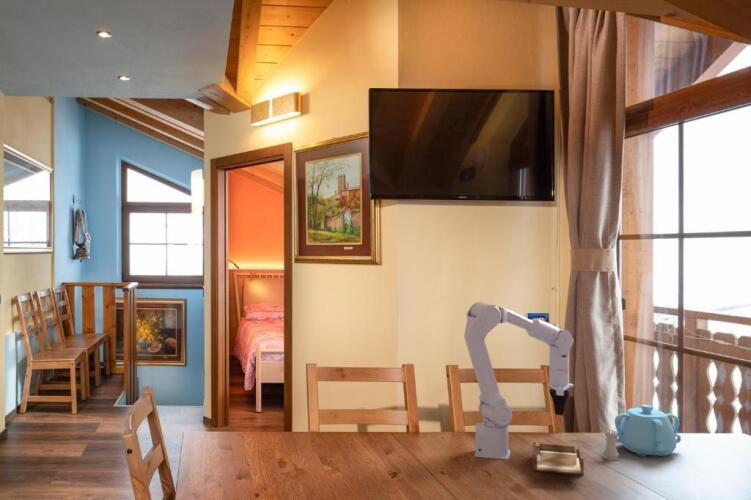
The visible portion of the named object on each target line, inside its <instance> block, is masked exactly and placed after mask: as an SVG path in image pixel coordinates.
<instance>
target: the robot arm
mask: <svg viewBox="0 0 751 500" xmlns="http://www.w3.org/2000/svg"><path fill="white" fill-rule="evenodd" d="M504 323H509V324H510V325H513V326H516V327H518V328H521V329H523V330H526V333H527V335H528V336H529V337H531V338H534V340H535V339H536V340H537V341H541V342H542V343H545V344H547V345H548V346H549V352H548V353H549V358H548V359H549V361H548V363H549V369H548V371H549V374H548V375H549V377H548V387H550V388H551V389H550V388H549V390H548V391H549V395H550V397H551V400H552V402H553V408H554V409H553V410H554V412H555V415H556V416H564V413H565V408H566V404H567V403H566V402H567V400H568V397H569V395H570V389H569V388H574V384H573V383H570V353H571V347H572V346H573V344H574V342H575V341H574V340H575V338H573V336H572V334H571V333H570V331H568V330H567V329H562V328H559V325H558V324H551V323H549V322H547V321H546V318H543V317H539V318H538V317H535V318H532V319H529V318H527V317H525V316H524V315H521V314H519V313H517V312H515V311H513V310H510V309H509V308H505V307H501V306H497V305H495V304H488V303H484V302H481V301H479V302H475V303H474V304H472V305H471V306H470V307H469V309H468V311H467V312H466V324H465V329H464V334H463V336H464V341H465V344H466V346H467V350H468V351H467V352H468V353H469V357H470V360H471V364H472V367H473V371H474V374H475V378H476V381H477V384H478V388H479V392H480V395H479V396H478V399H479V414H480V415H481V417H483V418H482V422H476V424H475V435H474V437H475V439H474V440H475V442H474V449H475V452H474V453H475V455H474V456H475V457H477V458H490V459H497V460H498V459H502V460H509V459H510V457H511V456H510V455H511V449H509V424H510V423H511V421H512V419H513V411H512V409H511V407H510V406H509V405H508V404H507V402H506V398H505V397H504V395H503V394H502V393H501V391H500V389H499V385H498V382H497V379H496V376H495V372H494V368H493V366H492V361H491V358H490V355H489V351H488V349H487V348H488V347H487V345H486V341H485V339H486V337H487V336H488V334H489V333H490V332H492V330H493V329H495V327H497V326H498V325H499V324H504Z"/></svg>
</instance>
